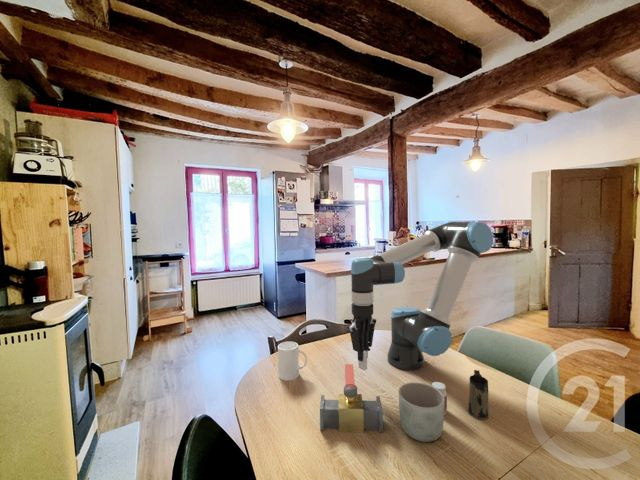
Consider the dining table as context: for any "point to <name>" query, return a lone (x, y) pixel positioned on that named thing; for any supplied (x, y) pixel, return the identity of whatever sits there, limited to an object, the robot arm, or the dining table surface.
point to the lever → (349, 382)
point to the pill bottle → (442, 389)
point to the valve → (351, 414)
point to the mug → (289, 361)
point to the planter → (421, 411)
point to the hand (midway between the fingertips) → (362, 368)
